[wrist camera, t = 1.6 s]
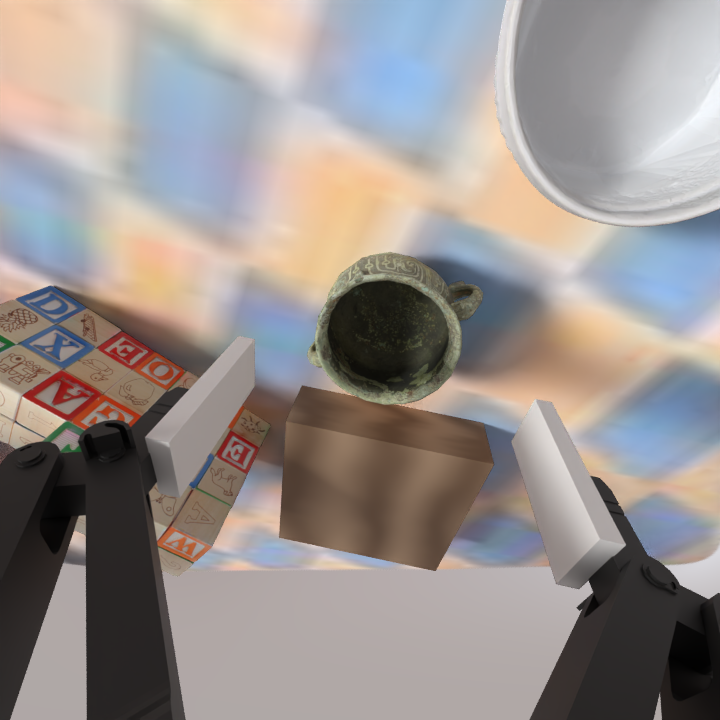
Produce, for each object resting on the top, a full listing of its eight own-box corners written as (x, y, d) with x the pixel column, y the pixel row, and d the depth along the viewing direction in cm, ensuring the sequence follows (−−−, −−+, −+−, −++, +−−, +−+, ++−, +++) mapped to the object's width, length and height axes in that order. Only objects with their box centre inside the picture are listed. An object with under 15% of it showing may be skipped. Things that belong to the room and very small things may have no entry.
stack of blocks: (38, 333, 31) (-150, 429, 21) (52, 282, 28) (-160, 363, 18) (243, 456, 36) (176, 581, 26) (273, 424, 33) (211, 551, 23)
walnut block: (293, 495, 39) (279, 537, 35) (303, 382, 31) (286, 421, 26) (432, 524, 39) (435, 570, 35) (482, 419, 30) (494, 464, 26)
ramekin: (444, -40, 16) (464, -145, 10) (817, -268, 12) (1194, -650, 6) (500, 237, 22) (533, 271, 16) (763, 144, 18) (932, 144, 12)
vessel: (344, 374, 29) (329, 426, 24) (291, 280, 25) (260, 316, 20) (490, 328, 25) (511, 376, 20) (454, 208, 22) (468, 229, 16)
